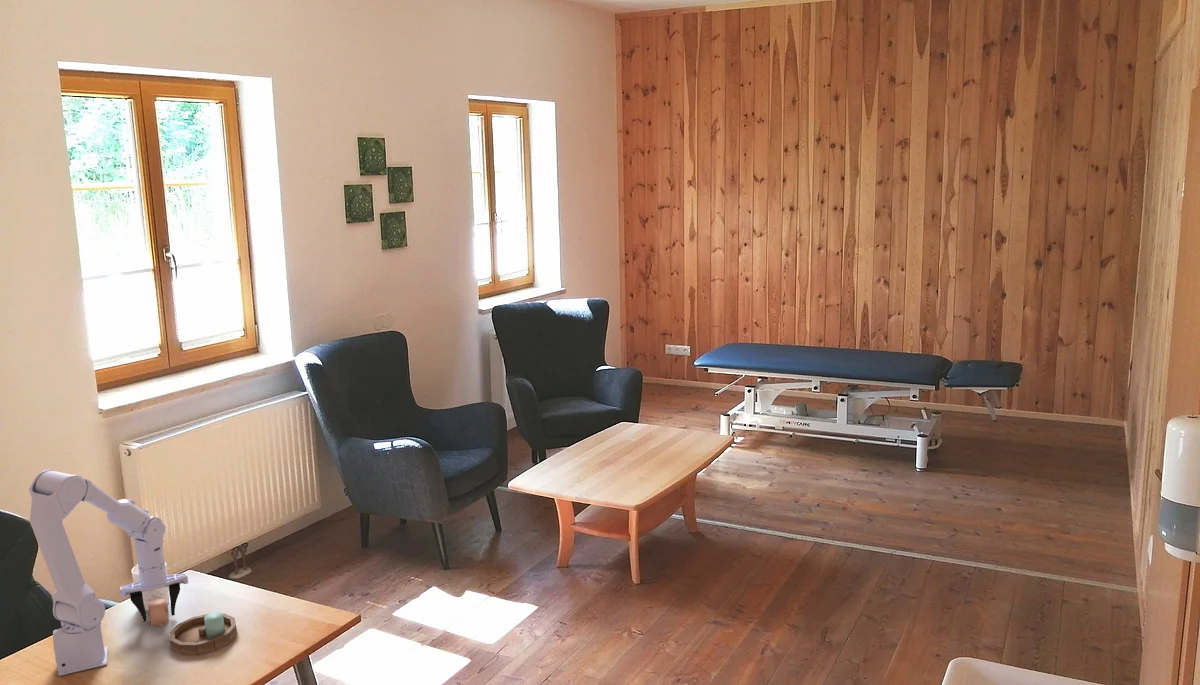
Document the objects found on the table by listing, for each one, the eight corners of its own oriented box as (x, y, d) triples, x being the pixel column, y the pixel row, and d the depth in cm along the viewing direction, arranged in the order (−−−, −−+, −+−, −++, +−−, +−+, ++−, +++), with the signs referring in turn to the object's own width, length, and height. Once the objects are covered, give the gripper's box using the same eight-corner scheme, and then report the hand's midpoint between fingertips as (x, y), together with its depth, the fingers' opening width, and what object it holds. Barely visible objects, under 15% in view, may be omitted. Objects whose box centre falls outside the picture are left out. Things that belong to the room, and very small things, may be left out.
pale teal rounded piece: (208, 642, 217) (205, 622, 216) (205, 635, 221) (203, 615, 219) (226, 637, 219) (224, 617, 218) (224, 630, 222) (221, 610, 221)
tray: (172, 661, 212) (170, 650, 211) (170, 632, 224) (168, 622, 224) (239, 644, 218) (238, 634, 217) (233, 617, 230) (232, 608, 230)
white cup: (158, 613, 233) (152, 575, 231) (129, 611, 235) (124, 573, 233) (178, 597, 241) (173, 561, 239) (150, 595, 243) (145, 559, 240)
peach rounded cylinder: (151, 628, 227) (148, 608, 225) (150, 620, 230) (147, 601, 229) (169, 624, 228) (166, 604, 227) (168, 616, 232) (166, 597, 231)
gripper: (184, 551, 232) (191, 602, 235) (117, 564, 226) (125, 616, 229) (185, 562, 226) (192, 614, 229) (117, 576, 220) (125, 630, 223)
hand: (159, 616), depth 229 cm, fingers open, 5 cm apart
